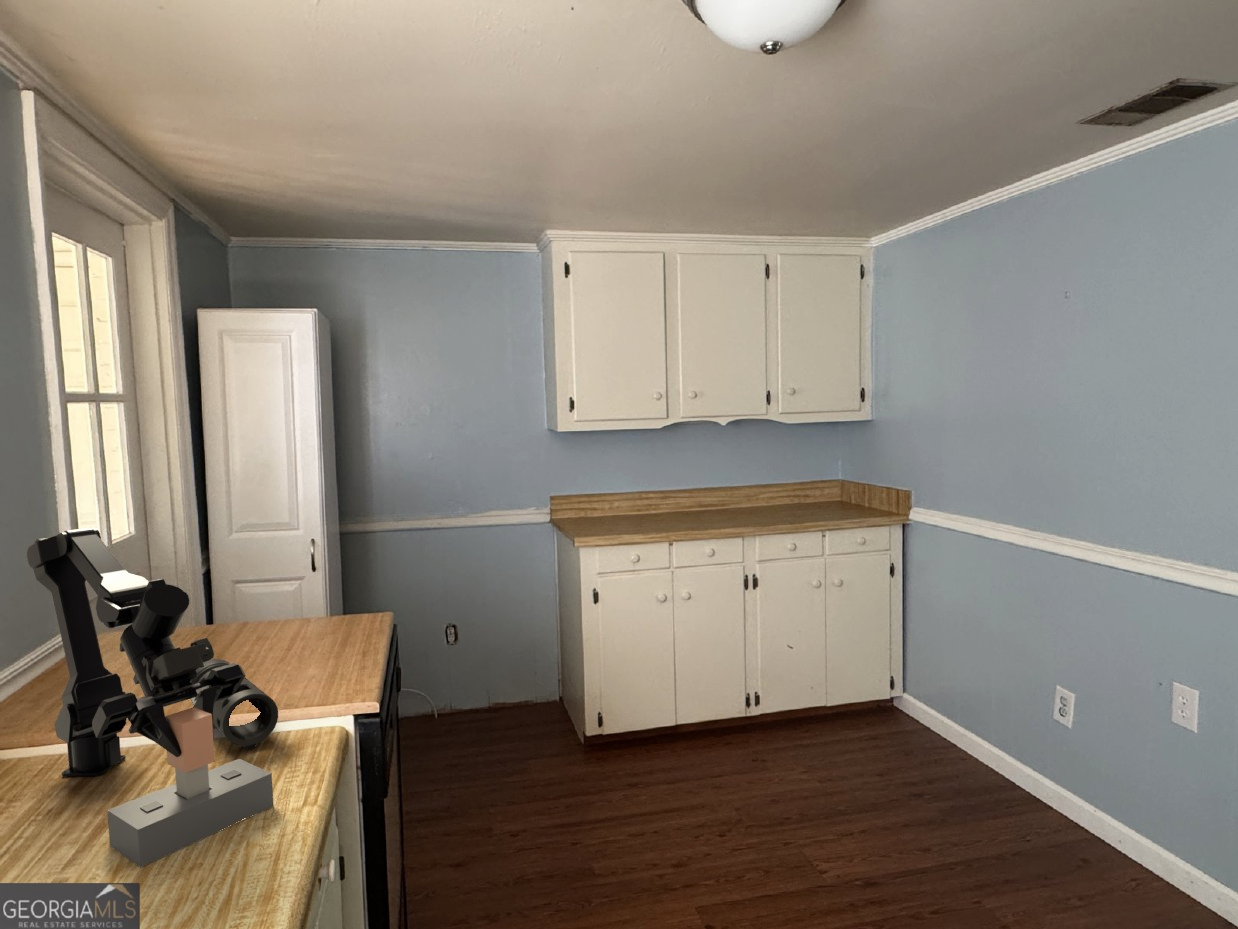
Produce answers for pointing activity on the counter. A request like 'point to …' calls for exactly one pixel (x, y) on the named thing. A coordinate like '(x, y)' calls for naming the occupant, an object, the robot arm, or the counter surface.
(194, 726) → the plug
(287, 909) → the counter surface
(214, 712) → the muzzle brake
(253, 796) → the socket block
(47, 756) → the counter surface
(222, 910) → the counter surface
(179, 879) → the counter surface
